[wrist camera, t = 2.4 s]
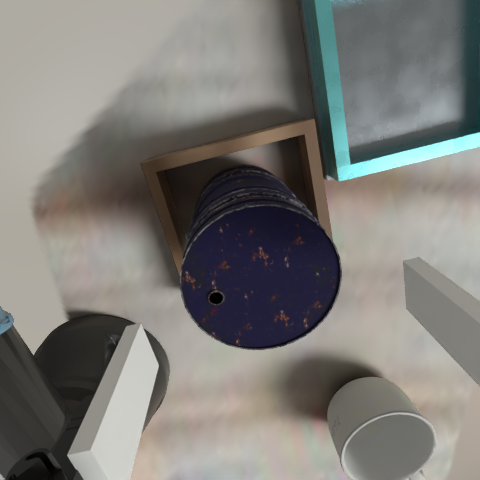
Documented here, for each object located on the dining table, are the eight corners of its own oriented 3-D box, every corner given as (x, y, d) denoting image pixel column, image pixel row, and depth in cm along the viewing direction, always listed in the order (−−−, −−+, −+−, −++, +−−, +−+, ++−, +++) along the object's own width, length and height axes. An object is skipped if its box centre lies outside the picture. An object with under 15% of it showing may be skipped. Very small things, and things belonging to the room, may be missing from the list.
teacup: (306, 386, 42) (325, 444, 34) (385, 349, 41) (422, 402, 33) (347, 450, 47) (372, 514, 39) (419, 419, 45) (459, 479, 38)
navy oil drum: (277, 149, 31) (323, 177, 17) (303, 240, 35) (358, 324, 21) (180, 183, 32) (149, 236, 18) (214, 269, 35) (211, 369, 22)
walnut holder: (194, 293, 36) (191, 310, 33) (148, 158, 31) (140, 163, 28) (327, 261, 36) (338, 275, 33) (304, 118, 30) (314, 118, 27)
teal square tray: (324, 178, 33) (335, 185, 29) (296, -12, 27) (306, -29, 24) (485, 138, 32) (515, 140, 29) (491, -65, 26) (529, -90, 23)
